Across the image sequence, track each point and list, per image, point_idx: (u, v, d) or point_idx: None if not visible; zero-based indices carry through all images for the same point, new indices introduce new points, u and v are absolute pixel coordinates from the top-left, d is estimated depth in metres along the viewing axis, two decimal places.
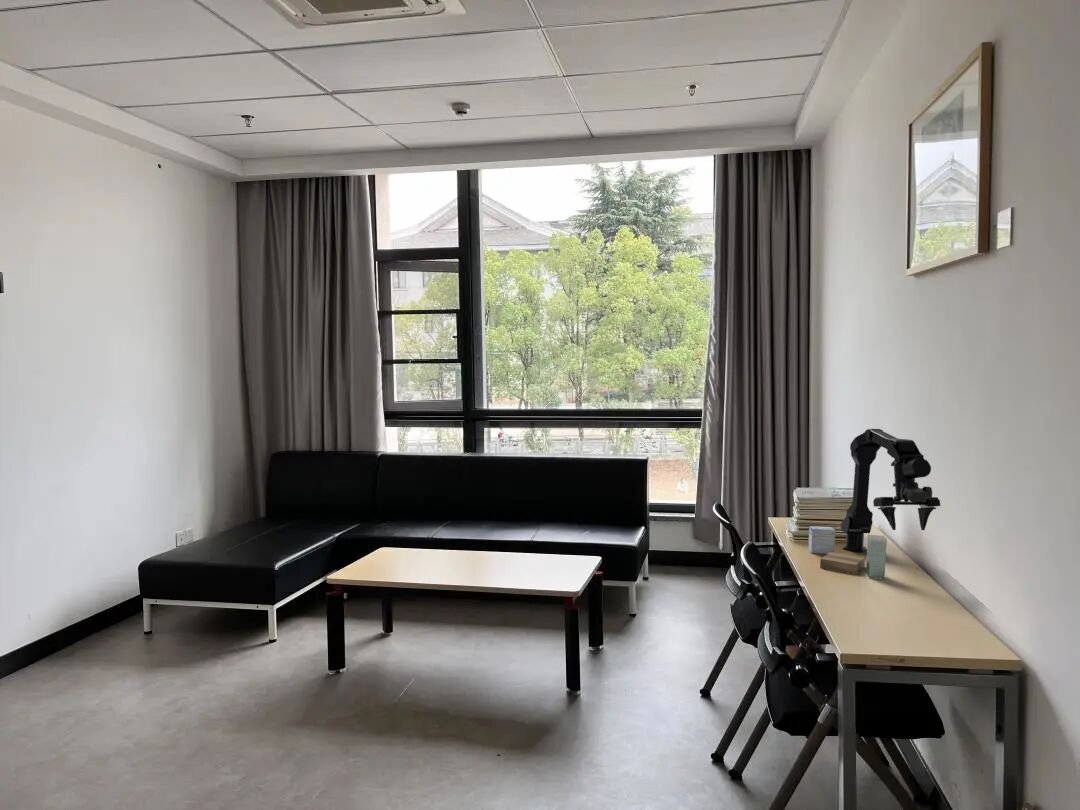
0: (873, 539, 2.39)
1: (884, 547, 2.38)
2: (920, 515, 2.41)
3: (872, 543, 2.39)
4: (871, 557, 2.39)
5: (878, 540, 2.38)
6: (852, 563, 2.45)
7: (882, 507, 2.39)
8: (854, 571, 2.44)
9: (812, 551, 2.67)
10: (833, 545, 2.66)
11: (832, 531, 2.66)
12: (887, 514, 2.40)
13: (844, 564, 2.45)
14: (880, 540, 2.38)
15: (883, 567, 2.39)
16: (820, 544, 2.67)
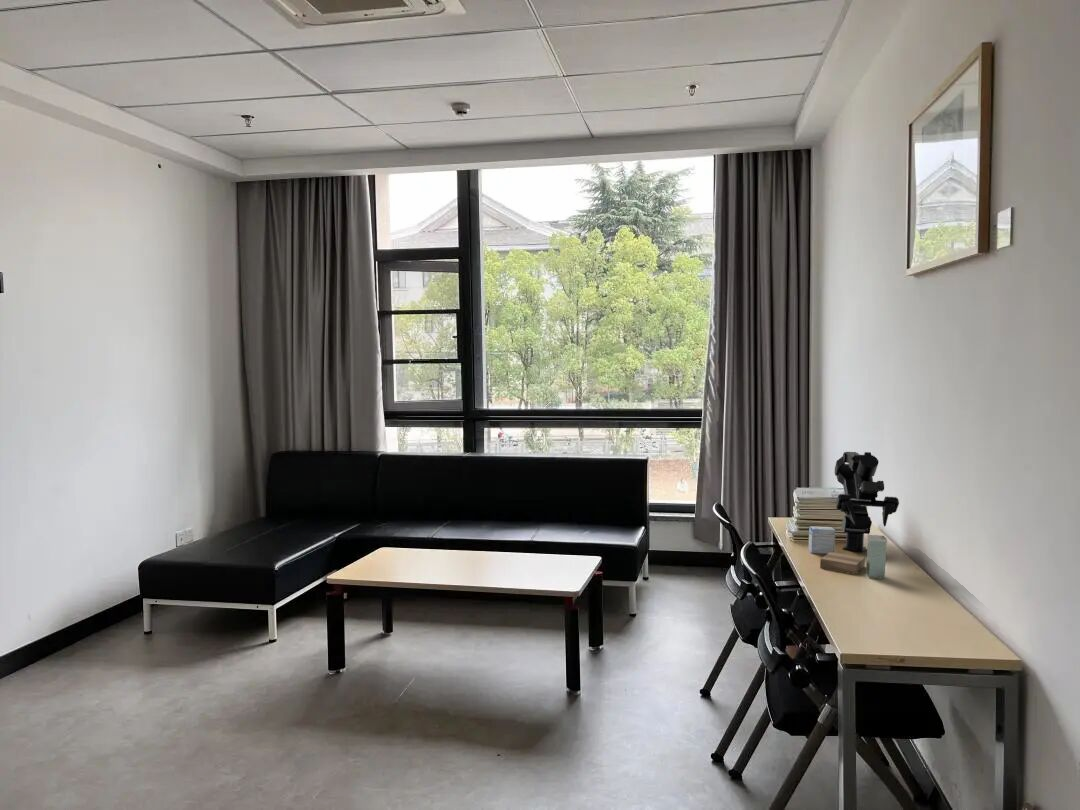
0: (873, 539, 2.39)
1: (884, 547, 2.38)
2: (883, 515, 2.54)
3: (872, 543, 2.39)
4: (871, 557, 2.39)
5: (878, 540, 2.38)
6: (852, 563, 2.45)
7: (842, 505, 2.57)
8: (854, 571, 2.44)
9: (812, 551, 2.67)
10: (833, 545, 2.66)
11: (832, 531, 2.66)
12: (848, 512, 2.56)
13: (844, 564, 2.45)
14: (880, 540, 2.38)
15: (883, 567, 2.39)
16: (820, 544, 2.67)
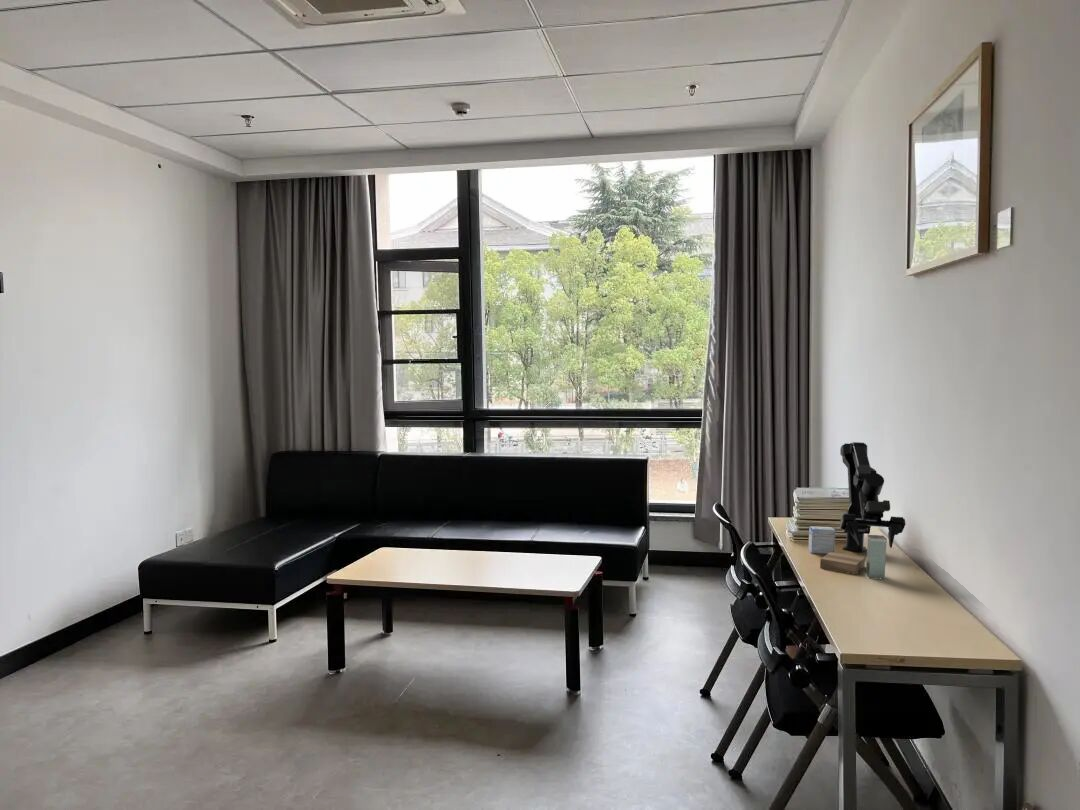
0: (873, 539, 2.39)
1: (884, 547, 2.38)
2: (889, 536, 2.45)
3: (872, 543, 2.39)
4: (871, 557, 2.39)
5: (878, 540, 2.38)
6: (852, 563, 2.45)
7: (846, 525, 2.48)
8: (854, 571, 2.44)
9: (812, 551, 2.67)
10: (833, 545, 2.66)
11: (832, 531, 2.66)
12: (853, 533, 2.47)
13: (844, 564, 2.45)
14: (880, 540, 2.38)
15: (883, 567, 2.39)
16: (820, 544, 2.67)
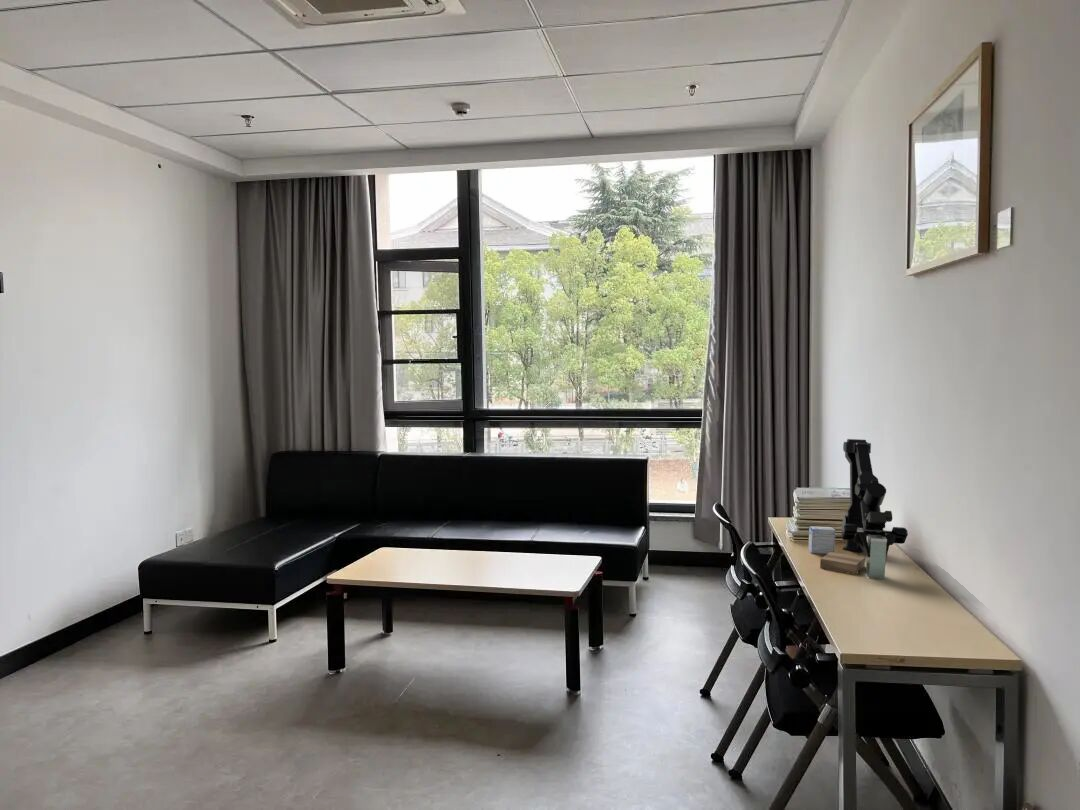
0: (873, 539, 2.39)
1: (884, 546, 2.38)
2: None
3: (872, 543, 2.39)
4: (871, 557, 2.39)
5: (878, 540, 2.38)
6: (852, 563, 2.45)
7: (855, 536, 2.45)
8: (854, 571, 2.44)
9: (812, 551, 2.67)
10: (833, 545, 2.66)
11: (832, 531, 2.66)
12: (862, 544, 2.44)
13: (844, 564, 2.45)
14: (880, 540, 2.38)
15: (883, 567, 2.39)
16: (820, 544, 2.67)
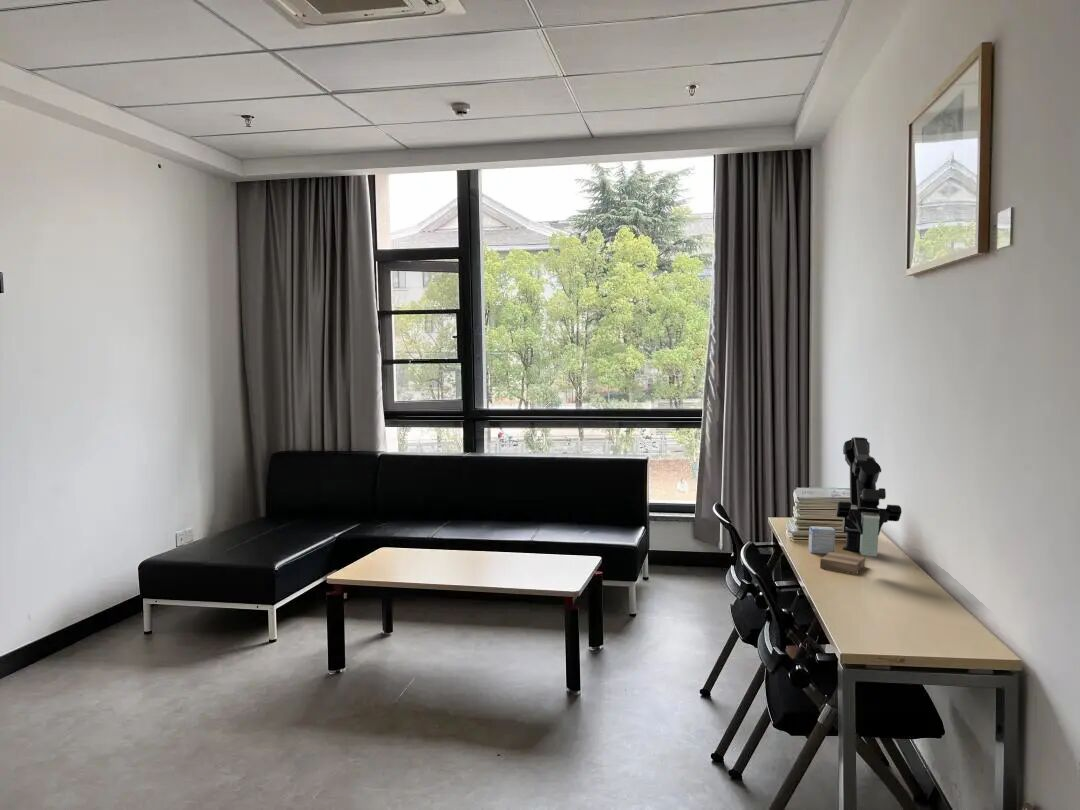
0: (866, 516, 2.40)
1: (877, 523, 2.39)
2: None
3: (865, 520, 2.40)
4: (864, 534, 2.41)
5: (871, 517, 2.40)
6: (852, 563, 2.45)
7: (849, 513, 2.47)
8: (854, 571, 2.44)
9: (812, 551, 2.67)
10: (833, 545, 2.66)
11: (832, 531, 2.66)
12: (855, 521, 2.46)
13: (844, 564, 2.45)
14: (873, 517, 2.40)
15: (876, 544, 2.40)
16: (820, 544, 2.67)
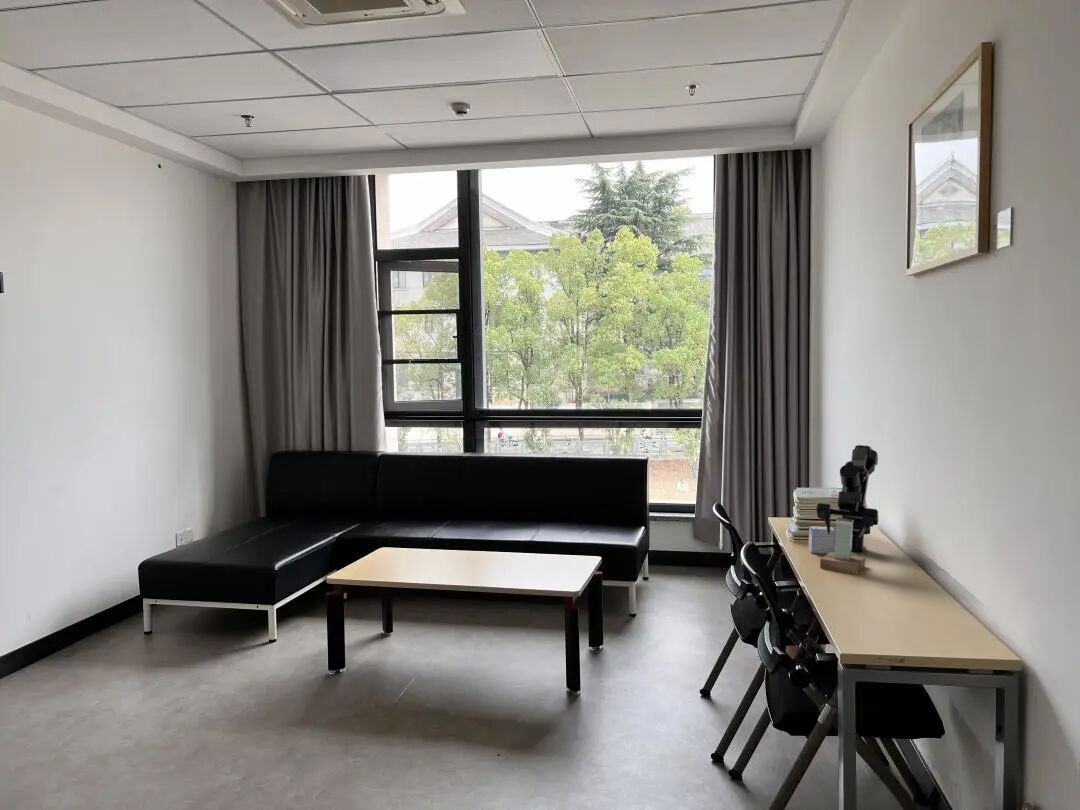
0: (838, 521, 2.49)
1: (849, 529, 2.47)
2: None
3: (837, 525, 2.49)
4: (836, 538, 2.49)
5: (843, 522, 2.48)
6: (852, 563, 2.45)
7: None
8: (854, 571, 2.44)
9: (812, 551, 2.67)
10: (833, 545, 2.66)
11: (832, 531, 2.66)
12: None
13: (844, 564, 2.45)
14: (845, 522, 2.48)
15: (848, 549, 2.48)
16: (820, 544, 2.67)
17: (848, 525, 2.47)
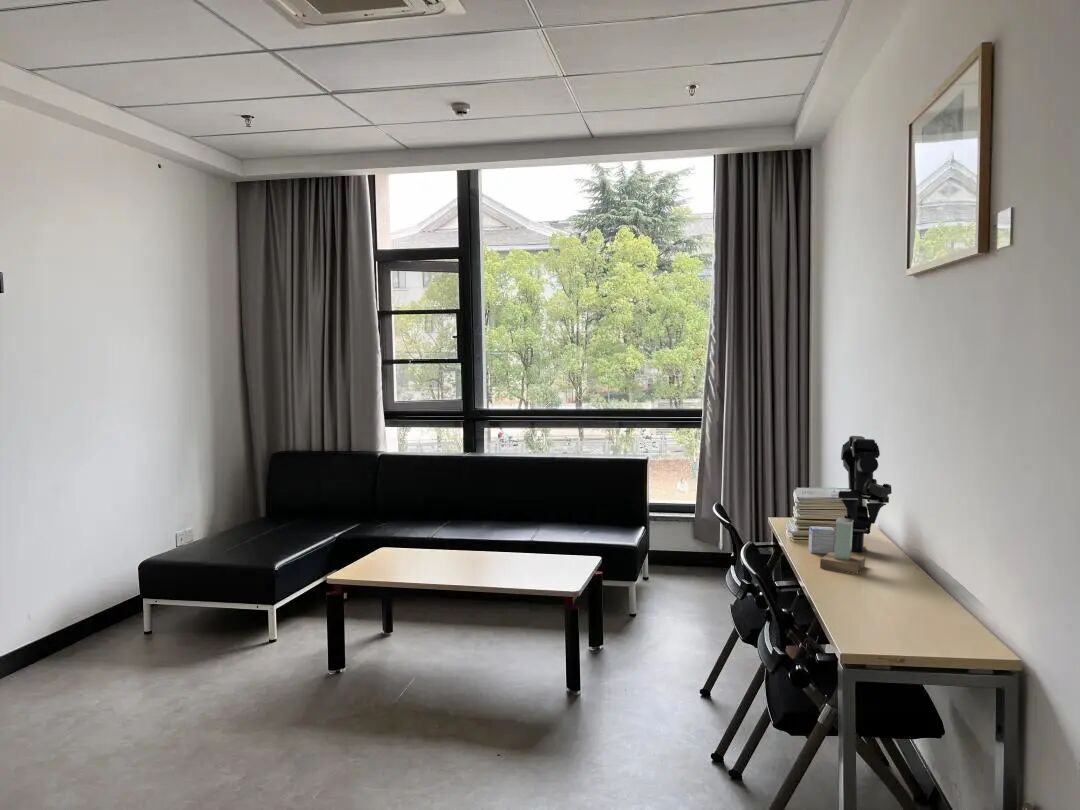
0: (838, 521, 2.49)
1: (849, 529, 2.47)
2: (870, 509, 2.61)
3: (837, 525, 2.49)
4: (836, 538, 2.49)
5: (843, 522, 2.48)
6: (852, 563, 2.45)
7: (848, 499, 2.54)
8: (854, 571, 2.44)
9: (812, 551, 2.67)
10: (833, 545, 2.66)
11: (832, 531, 2.66)
12: (849, 506, 2.55)
13: (844, 564, 2.45)
14: (845, 522, 2.48)
15: (848, 549, 2.48)
16: (820, 544, 2.67)
17: (848, 525, 2.47)
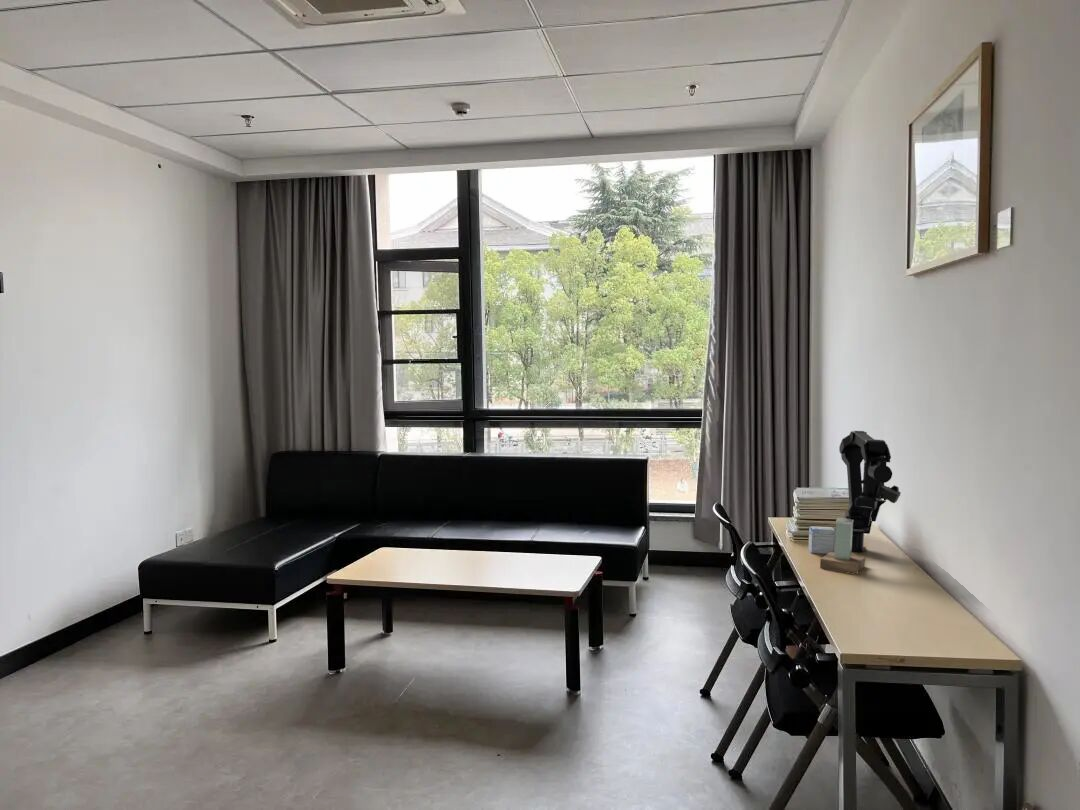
0: (838, 521, 2.49)
1: (849, 529, 2.47)
2: None
3: (837, 525, 2.49)
4: (836, 538, 2.49)
5: (843, 522, 2.48)
6: (852, 563, 2.45)
7: (866, 507, 2.50)
8: (854, 571, 2.44)
9: (812, 551, 2.67)
10: (833, 545, 2.66)
11: (832, 531, 2.66)
12: (863, 512, 2.52)
13: (844, 564, 2.45)
14: (845, 522, 2.48)
15: (848, 549, 2.48)
16: (820, 544, 2.67)
17: (848, 525, 2.47)
